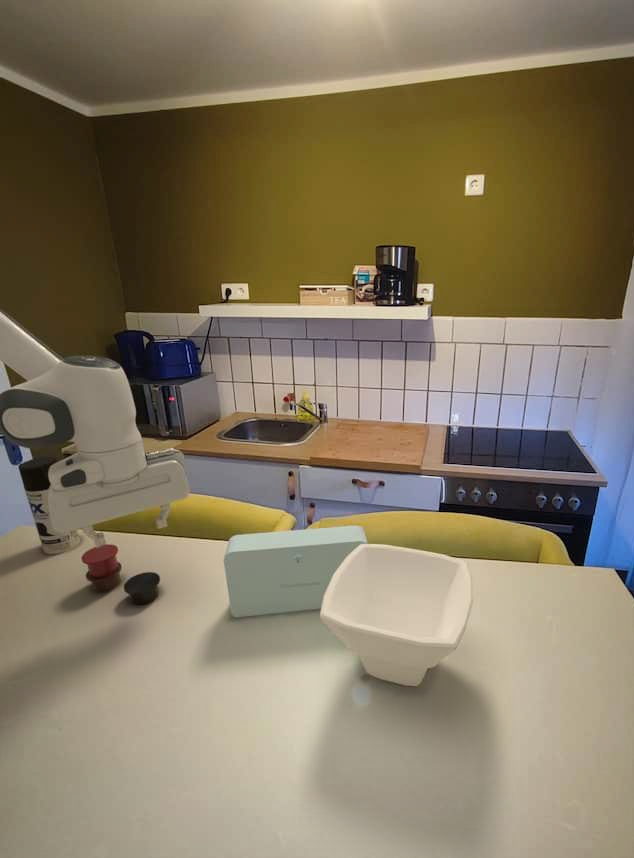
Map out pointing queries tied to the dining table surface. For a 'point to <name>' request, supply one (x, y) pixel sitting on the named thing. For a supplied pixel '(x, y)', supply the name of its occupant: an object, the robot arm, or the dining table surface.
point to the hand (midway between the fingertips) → (132, 535)
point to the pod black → (143, 588)
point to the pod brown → (105, 580)
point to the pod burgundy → (101, 560)
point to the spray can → (44, 505)
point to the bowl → (399, 609)
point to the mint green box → (285, 568)
